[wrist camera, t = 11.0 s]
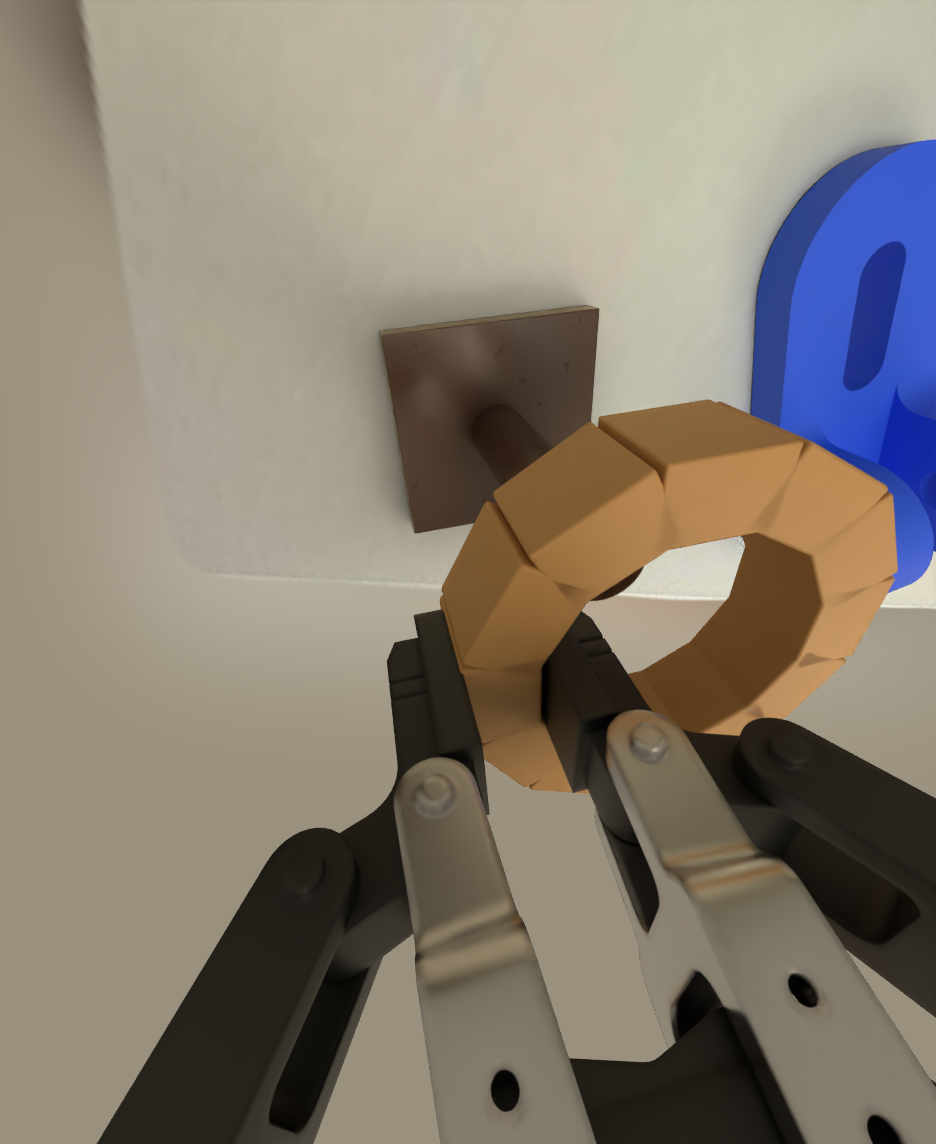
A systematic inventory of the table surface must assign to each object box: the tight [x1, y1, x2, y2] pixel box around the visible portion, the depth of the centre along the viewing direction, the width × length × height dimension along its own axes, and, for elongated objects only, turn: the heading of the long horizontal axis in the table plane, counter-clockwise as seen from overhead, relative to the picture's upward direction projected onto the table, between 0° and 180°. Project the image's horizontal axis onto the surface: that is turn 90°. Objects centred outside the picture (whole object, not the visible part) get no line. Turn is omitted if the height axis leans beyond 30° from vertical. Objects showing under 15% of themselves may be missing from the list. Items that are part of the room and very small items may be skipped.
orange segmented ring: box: [440, 400, 898, 794], centre depth 11 cm, size 9×9×2 cm
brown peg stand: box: [379, 305, 644, 601], centre depth 18 cm, size 9×9×12 cm
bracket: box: [751, 140, 936, 593], centre depth 21 cm, size 18×8×9 cm, turn 19°
